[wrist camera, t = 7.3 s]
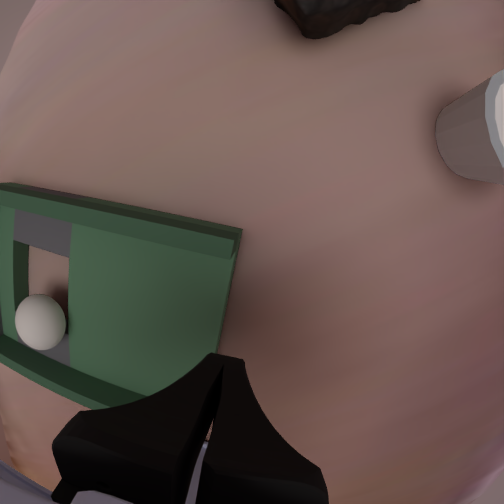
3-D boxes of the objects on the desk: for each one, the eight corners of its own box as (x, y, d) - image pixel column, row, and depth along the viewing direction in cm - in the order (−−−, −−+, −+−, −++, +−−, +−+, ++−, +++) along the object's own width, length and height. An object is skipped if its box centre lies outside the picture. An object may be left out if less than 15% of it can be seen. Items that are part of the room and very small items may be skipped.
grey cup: (499, 191, 18) (562, 196, 11) (429, 183, 19) (490, 184, 12) (494, 104, 17) (551, 86, 10) (422, 87, 17) (475, 54, 10)
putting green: (206, 405, 23) (176, 504, 13) (10, 331, 23) (-58, 376, 13) (251, 189, 19) (229, 189, 10) (15, 153, 20) (-77, 149, 10)
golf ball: (30, 367, 17) (65, 344, 21) (44, 345, 16) (83, 321, 20) (1, 321, 17) (37, 303, 21) (11, 293, 16) (53, 276, 20)
